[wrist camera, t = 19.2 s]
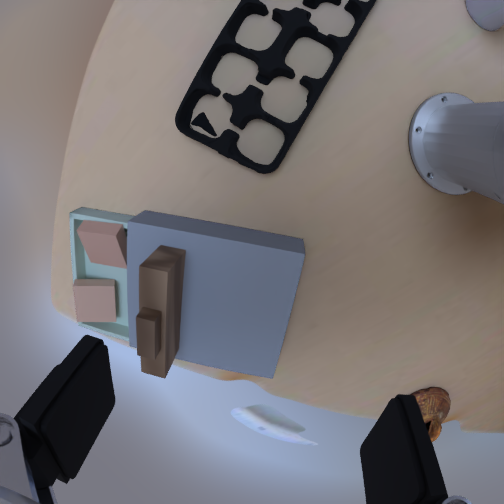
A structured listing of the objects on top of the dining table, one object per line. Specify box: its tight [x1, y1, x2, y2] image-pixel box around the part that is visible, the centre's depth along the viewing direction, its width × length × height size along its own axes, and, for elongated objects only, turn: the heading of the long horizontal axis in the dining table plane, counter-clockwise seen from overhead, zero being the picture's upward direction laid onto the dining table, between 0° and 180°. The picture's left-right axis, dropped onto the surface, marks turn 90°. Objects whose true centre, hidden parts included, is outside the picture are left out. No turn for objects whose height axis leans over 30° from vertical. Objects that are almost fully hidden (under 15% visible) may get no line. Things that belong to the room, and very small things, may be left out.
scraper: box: [136, 245, 186, 378], centre depth 34 cm, size 3×14×8 cm, turn 171°
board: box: [127, 210, 305, 379], centre depth 40 cm, size 20×18×5 cm
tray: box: [70, 207, 135, 341], centre depth 42 cm, size 10×18×3 cm, turn 171°
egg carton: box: [175, 0, 376, 174], centre depth 30 cm, size 18×30×4 cm, turn 164°
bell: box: [411, 387, 451, 442], centre depth 45 cm, size 12×12×7 cm
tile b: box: [73, 279, 116, 322], centre depth 42 cm, size 6×6×2 cm
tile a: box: [76, 220, 127, 269], centre depth 39 cm, size 6×6×2 cm
